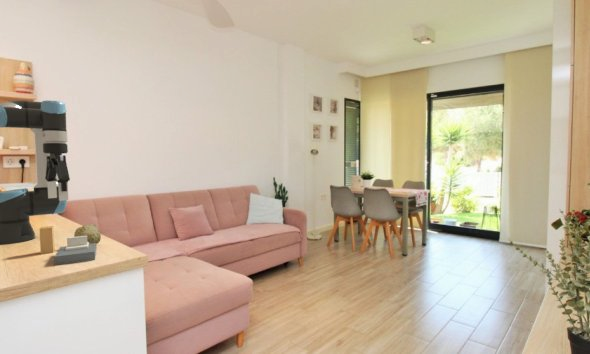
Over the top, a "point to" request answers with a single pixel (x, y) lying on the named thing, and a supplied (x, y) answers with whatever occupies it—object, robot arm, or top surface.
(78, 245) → the white stepped block
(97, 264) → the top surface
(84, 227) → the coral
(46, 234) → the tall wooden block
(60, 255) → the socket board
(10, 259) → the top surface
